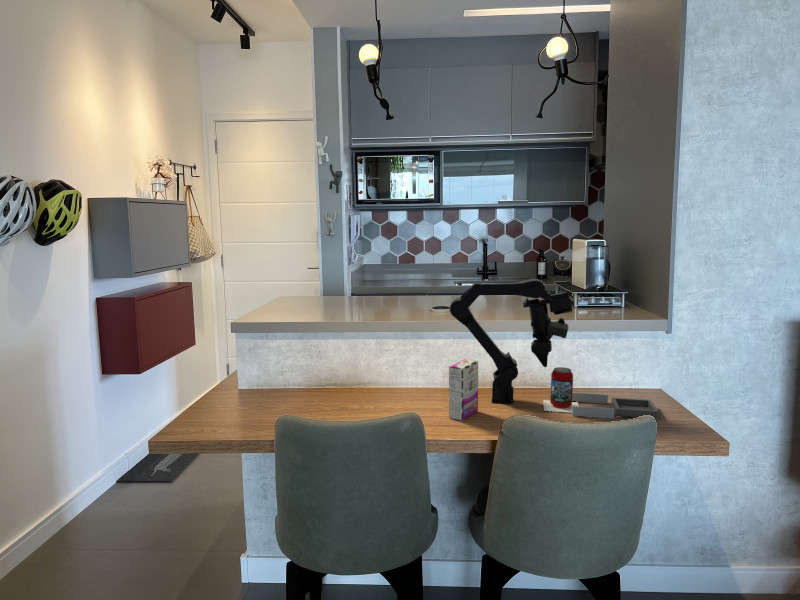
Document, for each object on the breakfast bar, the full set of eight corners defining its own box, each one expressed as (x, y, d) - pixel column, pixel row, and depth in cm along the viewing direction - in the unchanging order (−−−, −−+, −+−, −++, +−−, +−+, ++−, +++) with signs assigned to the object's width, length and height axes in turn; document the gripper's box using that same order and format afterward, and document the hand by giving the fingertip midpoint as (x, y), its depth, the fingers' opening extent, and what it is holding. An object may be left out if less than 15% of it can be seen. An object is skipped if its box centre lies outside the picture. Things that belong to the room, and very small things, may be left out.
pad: (544, 411, 191) (544, 410, 191) (543, 401, 202) (543, 399, 202) (580, 413, 189) (580, 412, 189) (577, 403, 199) (577, 402, 199)
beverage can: (548, 407, 194) (550, 370, 192) (551, 401, 200) (553, 365, 198) (570, 410, 191) (572, 373, 190) (573, 403, 197) (574, 367, 196)
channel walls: (572, 416, 187) (573, 406, 186) (569, 400, 203) (569, 391, 202) (613, 418, 184) (614, 409, 184) (607, 402, 200) (607, 393, 200)
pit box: (616, 416, 186) (616, 408, 186) (611, 404, 198) (611, 397, 197) (658, 419, 184) (658, 411, 183) (650, 407, 195) (650, 399, 195)
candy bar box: (463, 408, 194) (464, 358, 192) (478, 411, 191) (479, 360, 189) (447, 418, 184) (448, 365, 182) (462, 421, 182) (463, 368, 180)
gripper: (564, 325, 186) (570, 371, 191) (565, 304, 203) (571, 347, 207) (527, 328, 190) (534, 373, 194) (532, 308, 207) (538, 350, 211)
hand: (546, 361), depth 202 cm, fingers open, 9 cm apart
